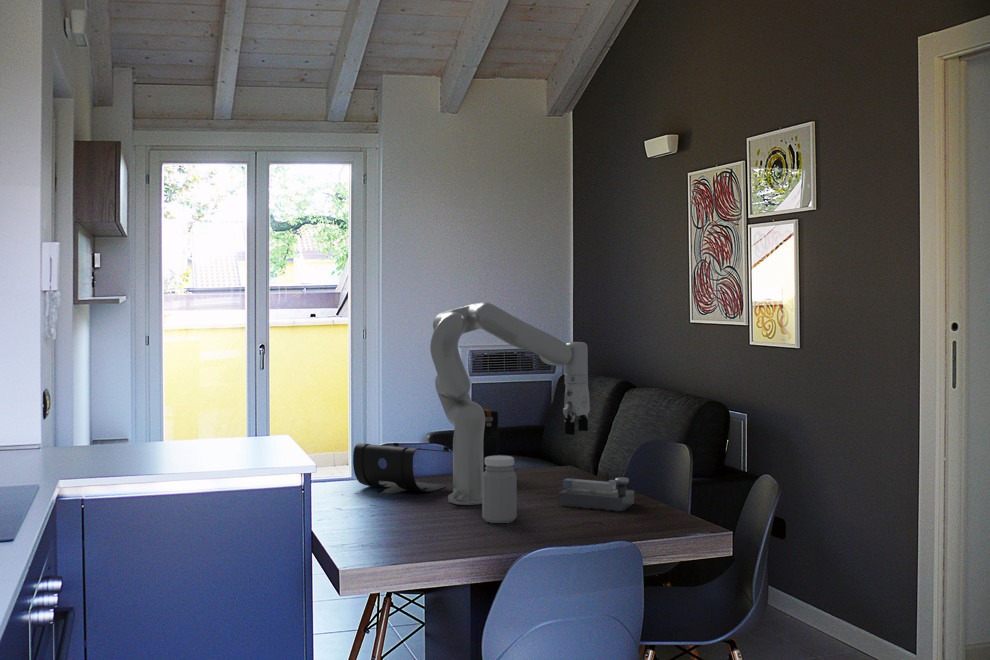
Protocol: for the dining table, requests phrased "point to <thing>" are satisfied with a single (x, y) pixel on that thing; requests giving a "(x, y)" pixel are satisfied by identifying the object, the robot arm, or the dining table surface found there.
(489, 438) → the voltmeter
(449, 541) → the dining table surface
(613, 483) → the swing arm
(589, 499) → the chassis
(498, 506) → the jar
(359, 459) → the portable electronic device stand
